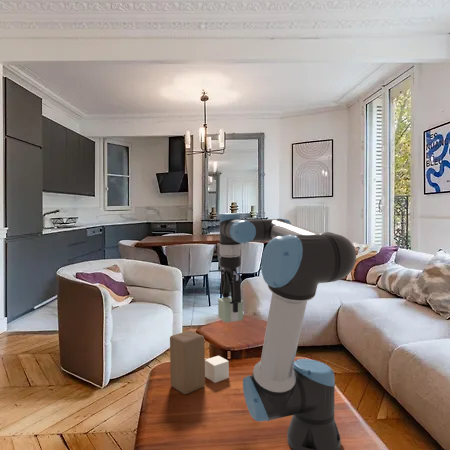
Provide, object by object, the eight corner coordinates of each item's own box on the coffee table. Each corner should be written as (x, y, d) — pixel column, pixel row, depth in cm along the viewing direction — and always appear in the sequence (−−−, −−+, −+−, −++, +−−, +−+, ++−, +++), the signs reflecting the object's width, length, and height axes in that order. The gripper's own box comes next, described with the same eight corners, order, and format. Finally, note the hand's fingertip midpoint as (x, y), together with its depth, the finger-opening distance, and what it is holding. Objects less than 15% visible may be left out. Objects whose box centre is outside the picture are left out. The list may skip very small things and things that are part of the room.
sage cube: (243, 320, 131) (243, 301, 130) (225, 322, 128) (225, 303, 128) (235, 314, 137) (235, 296, 137) (218, 316, 135) (218, 298, 134)
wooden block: (190, 378, 146) (189, 329, 145) (206, 386, 138) (205, 335, 138) (169, 386, 139) (168, 335, 138) (185, 396, 132) (184, 342, 131)
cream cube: (228, 378, 146) (228, 361, 145) (214, 383, 141) (214, 365, 141) (218, 371, 151) (218, 355, 151) (204, 376, 147) (204, 359, 147)
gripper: (251, 258, 123) (251, 324, 125) (229, 251, 142) (230, 309, 143) (230, 260, 121) (231, 327, 122) (211, 252, 139) (212, 311, 141)
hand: (230, 317), depth 133 cm, fingers closed on sage cube, 7 cm apart
